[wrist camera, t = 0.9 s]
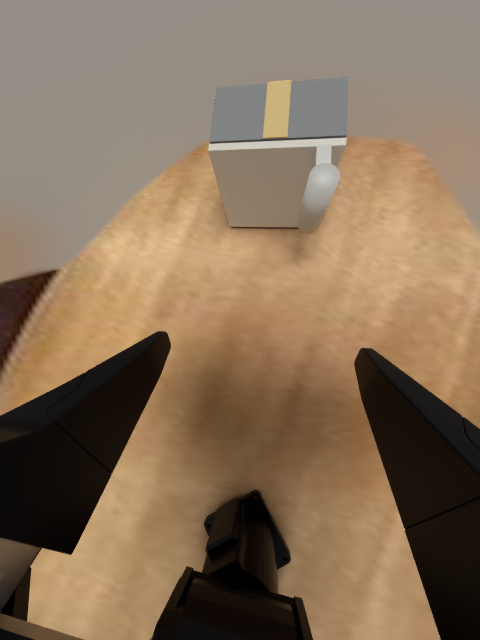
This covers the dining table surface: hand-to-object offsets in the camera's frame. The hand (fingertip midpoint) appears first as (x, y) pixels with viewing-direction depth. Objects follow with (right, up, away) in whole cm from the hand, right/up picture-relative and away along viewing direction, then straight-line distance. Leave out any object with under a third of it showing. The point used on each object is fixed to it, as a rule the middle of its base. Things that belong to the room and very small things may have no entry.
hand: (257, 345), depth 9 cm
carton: (+3, +16, +15) cm, 22 cm away
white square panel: (+3, +11, +14) cm, 18 cm away
